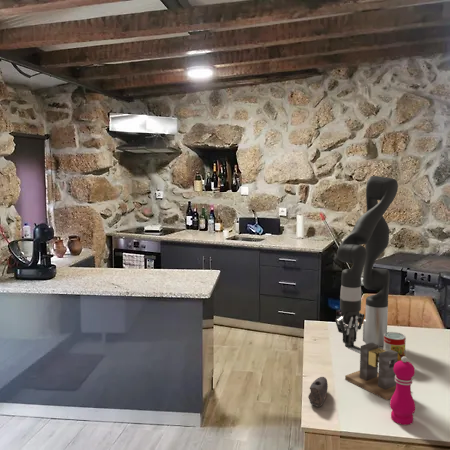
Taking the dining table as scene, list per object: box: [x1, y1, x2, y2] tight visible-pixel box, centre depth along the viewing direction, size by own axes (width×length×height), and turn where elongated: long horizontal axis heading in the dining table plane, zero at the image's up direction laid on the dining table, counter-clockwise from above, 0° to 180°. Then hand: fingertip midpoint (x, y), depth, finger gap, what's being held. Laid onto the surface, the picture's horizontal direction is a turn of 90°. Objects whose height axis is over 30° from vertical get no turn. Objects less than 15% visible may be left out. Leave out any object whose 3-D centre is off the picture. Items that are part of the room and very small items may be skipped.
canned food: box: [383, 331, 407, 362], centre depth 176 cm, size 8×8×12 cm
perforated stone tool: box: [307, 376, 329, 408], centre depth 151 cm, size 15×5×7 cm, turn 154°
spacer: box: [368, 347, 385, 367], centre depth 160 cm, size 3×5×5 cm, turn 123°
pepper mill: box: [389, 355, 416, 426], centre depth 137 cm, size 7×7×20 cm
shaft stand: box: [344, 343, 398, 401], centre depth 160 cm, size 18×12×13 cm, turn 33°
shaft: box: [344, 326, 392, 366], centre depth 163 cm, size 20×3×8 cm, turn 33°
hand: (349, 342), depth 170 cm, fingers closed on shaft, 3 cm apart
